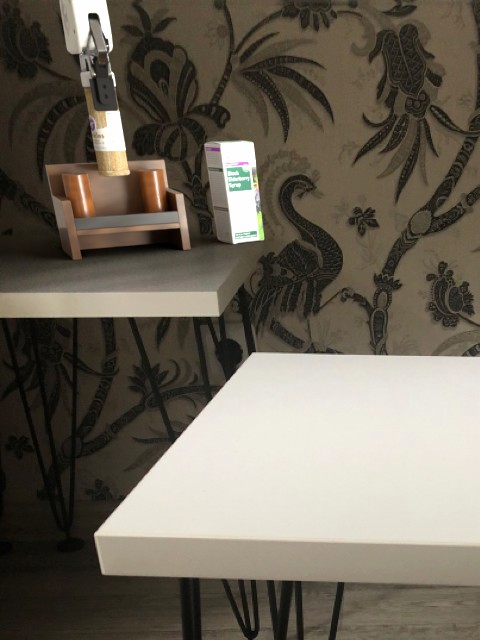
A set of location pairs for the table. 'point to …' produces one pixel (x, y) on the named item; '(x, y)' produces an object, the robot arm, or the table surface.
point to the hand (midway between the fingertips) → (102, 108)
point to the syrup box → (234, 191)
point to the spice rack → (116, 207)
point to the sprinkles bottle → (106, 135)
